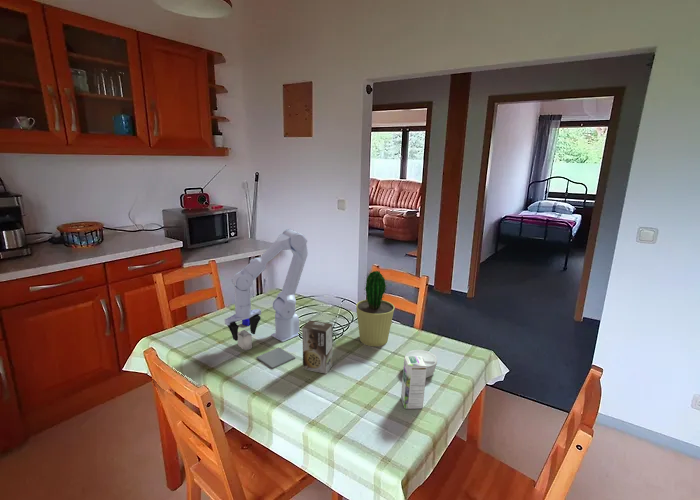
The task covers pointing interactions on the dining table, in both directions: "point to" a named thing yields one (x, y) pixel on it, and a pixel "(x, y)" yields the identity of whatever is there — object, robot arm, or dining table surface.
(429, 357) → the ramekin
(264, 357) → the slate coaster
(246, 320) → the cable holder
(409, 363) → the syrup box
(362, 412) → the dining table surface
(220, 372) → the dining table surface
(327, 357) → the brown food box
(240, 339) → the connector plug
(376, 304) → the potted cactus
